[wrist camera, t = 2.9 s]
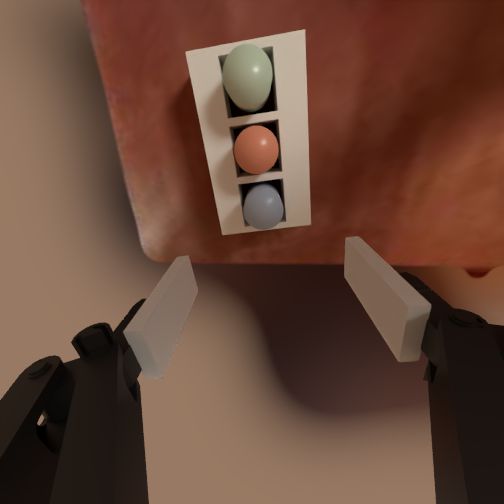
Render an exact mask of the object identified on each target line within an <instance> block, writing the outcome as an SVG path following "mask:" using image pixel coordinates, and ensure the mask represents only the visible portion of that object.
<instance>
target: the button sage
mask: <svg viewBox="0 0 504 504" xmlns="http://www.w3.org/2000/svg"><path fill="white" fill-rule="evenodd" d="M272 76H273V74H272V66H271V62H270V60H269V58H268V56H267V54H266V53H265V52H264V51H263V50H262V49H261V48H260V47H258V46H256V45H253V44H242V45H239V46H237V47H235V48H234V49H233V50H232V51H231V52H230V53H229V54H228V56H227V58H226V60H225V63H224V66H223V82H224V86H225V89H226V91H227V93H228V94H229V96H230V97H231V99H232V100H233V102H234V104H235V105H236V106H237V107H238V108H239V109H240V110H242V111H245V112H255V111H258V110H259V109H261V108H262V107H263V106H264V105H265V103H266V102H267V100H268V97H269V93H270V88H271V83H272Z"/></svg>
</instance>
